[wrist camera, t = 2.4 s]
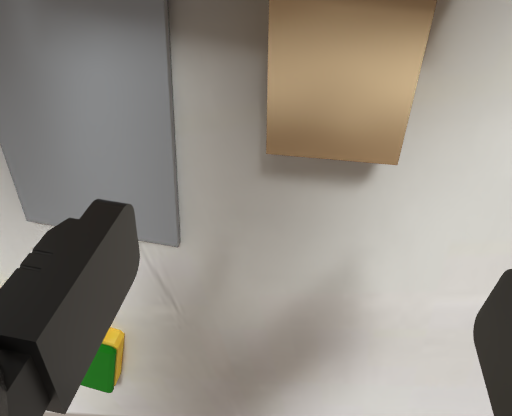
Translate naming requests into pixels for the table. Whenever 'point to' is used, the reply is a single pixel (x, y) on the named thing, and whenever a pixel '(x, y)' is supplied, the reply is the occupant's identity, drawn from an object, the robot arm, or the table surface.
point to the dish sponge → (106, 363)
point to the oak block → (343, 76)
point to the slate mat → (90, 110)
